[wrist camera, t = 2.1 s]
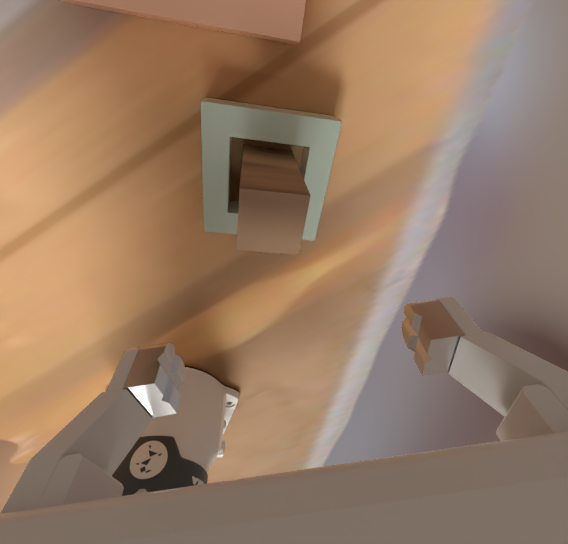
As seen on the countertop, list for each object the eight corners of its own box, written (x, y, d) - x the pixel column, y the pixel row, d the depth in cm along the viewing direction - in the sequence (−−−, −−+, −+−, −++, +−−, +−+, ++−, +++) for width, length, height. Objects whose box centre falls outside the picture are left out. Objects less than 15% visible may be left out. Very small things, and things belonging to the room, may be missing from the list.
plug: (284, 196, 27) (298, 254, 19) (240, 191, 26) (236, 250, 18) (291, 150, 25) (310, 195, 17) (243, 144, 24) (239, 188, 16)
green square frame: (310, 227, 29) (314, 240, 27) (207, 219, 28) (203, 231, 26) (334, 115, 23) (341, 121, 21) (205, 97, 22) (200, 101, 20)
